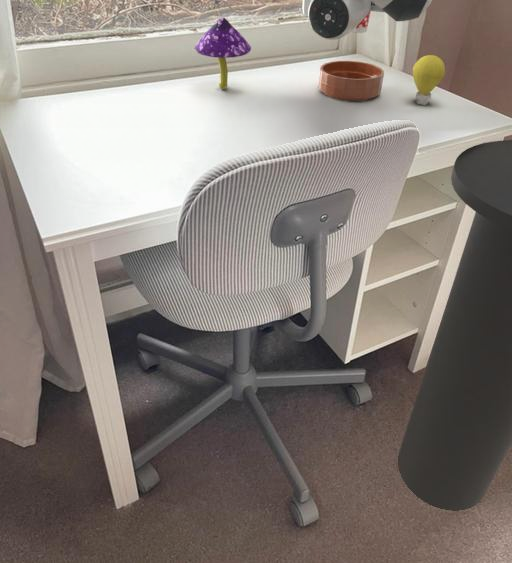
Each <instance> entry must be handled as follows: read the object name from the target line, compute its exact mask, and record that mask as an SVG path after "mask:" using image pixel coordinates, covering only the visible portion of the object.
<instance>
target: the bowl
mask: <svg viewBox="0 0 512 563" xmlns="http://www.w3.org/2000/svg"><path fill="white" fill-rule="evenodd" d="M384 77H385V70H383V68H381V67H380V66H378V65H375V64H373V63H369V62H364V61H359V60H333V61H328V62H325V63H323V64H321V65H320V67H319V75H318V85H317V86H318V87H317V88H318V89H319V91H321V92H322V93H323V94H324V95H325V96H327V97H329V98H332V99H335V100H340V101H345V102H364V101H369V100H372V99H373V98H375V97H377V96H379V95H380V94H381V93H382V88H383V83H384V82H383V81H384Z"/></svg>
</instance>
